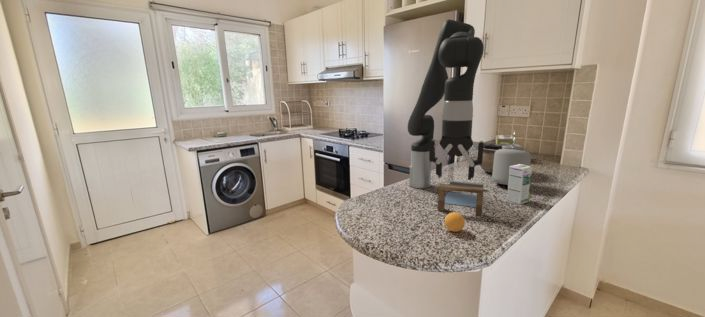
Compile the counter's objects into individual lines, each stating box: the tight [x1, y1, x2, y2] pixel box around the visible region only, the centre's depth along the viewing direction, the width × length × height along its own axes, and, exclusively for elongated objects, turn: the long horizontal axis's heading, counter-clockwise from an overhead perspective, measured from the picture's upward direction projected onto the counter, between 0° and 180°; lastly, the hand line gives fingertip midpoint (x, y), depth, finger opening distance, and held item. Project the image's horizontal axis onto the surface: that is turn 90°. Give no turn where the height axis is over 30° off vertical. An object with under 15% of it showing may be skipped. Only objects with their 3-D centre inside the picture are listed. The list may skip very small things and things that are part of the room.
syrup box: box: [506, 164, 533, 205], centre depth 115 cm, size 6×6×14 cm
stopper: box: [449, 180, 484, 188], centre depth 133 cm, size 14×2×2 cm, turn 65°
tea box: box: [495, 134, 516, 145], centre depth 186 cm, size 15×10×15 cm, turn 157°
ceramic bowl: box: [475, 141, 523, 174], centre depth 156 cm, size 22×22×15 cm
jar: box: [491, 130, 532, 186], centre depth 134 cm, size 19×15×25 cm
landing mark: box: [445, 191, 477, 208], centre depth 120 cm, size 14×14×1 cm
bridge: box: [437, 183, 485, 218], centre depth 106 cm, size 3×15×10 cm, turn 65°
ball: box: [444, 211, 466, 233], centre depth 92 cm, size 6×6×6 cm
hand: (454, 177), depth 81 cm, fingers open, 7 cm apart
